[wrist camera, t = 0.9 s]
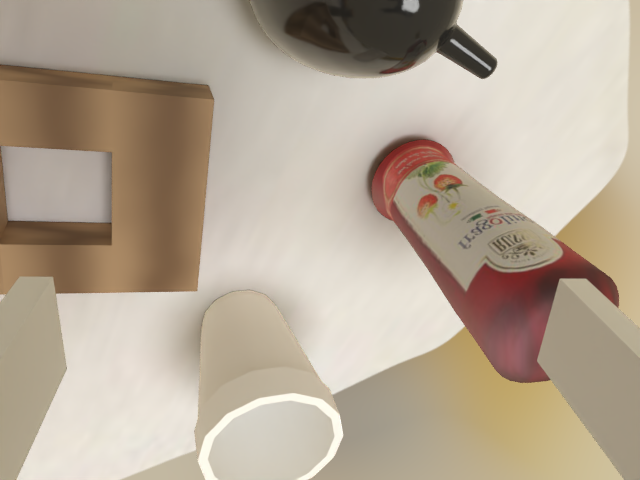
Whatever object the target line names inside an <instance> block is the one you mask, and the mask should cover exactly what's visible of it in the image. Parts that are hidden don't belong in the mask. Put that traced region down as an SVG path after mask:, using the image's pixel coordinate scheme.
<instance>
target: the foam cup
mask: <svg viewBox="0 0 640 480" xmlns="http://www.w3.org/2000/svg"><path fill="white" fill-rule="evenodd" d="M194 433H195V442H196V450H197V458H198V463H199V465H200V467H201V470H202V472H203V474H204V477H205V480H307V479H310V478H311V477H313V476H314V475H315V474H317V473H318V472H319V471H320V470H321V469H322V468H323V467H324V466H325V465H326V464H327V463H328V462H329V461H330V460H331V459H332V458H333V457H334V455H335V453H336V451H337V449H338V446H339V444H340V442H341V440H342V437H343V431H342V425H341V420H340V414H339V412H338V409H337V407H336V404H335V402H334V399H333V397H332V394H331V392H330V389H329V388H328V387H327V386H326V385H325V384H324V383H323V382H322V381H321V380H320V378H319V376H318V375H317V373H316V371H315V370H314V368H313V366H312V365H311V363H310V361H309V360H308V358H307V356H306V355H305V353H304V351H303V350H302V348H301V346H300V345H299V343H298V341H297V340H296V338H295V336H294V335H293V333H292V331H291V330H290V328H289V326H288V325H287V323H286V321H285V320H284V318H283V316H282V315H281V313H280V311H279V310H278V308H277V307H276V305H275V304H274V303H273V302H272V301H271V300H270V299H269V298H268V297H267V296H266V295H265V294H261V293H258V292H255V291H251V290H245V291H234V292H231V293H229V294H227V295H224V296H222V297H220V298H218V299H216V300H215V301H214V303H213V304H212V305H211V306H210V307H209V308H208V309H207V310H206V311H205V315H204V319H203V322H202V330H201V351H200V376H199V401H198V420H197V423H196V427H195V430H194Z"/></svg>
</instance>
